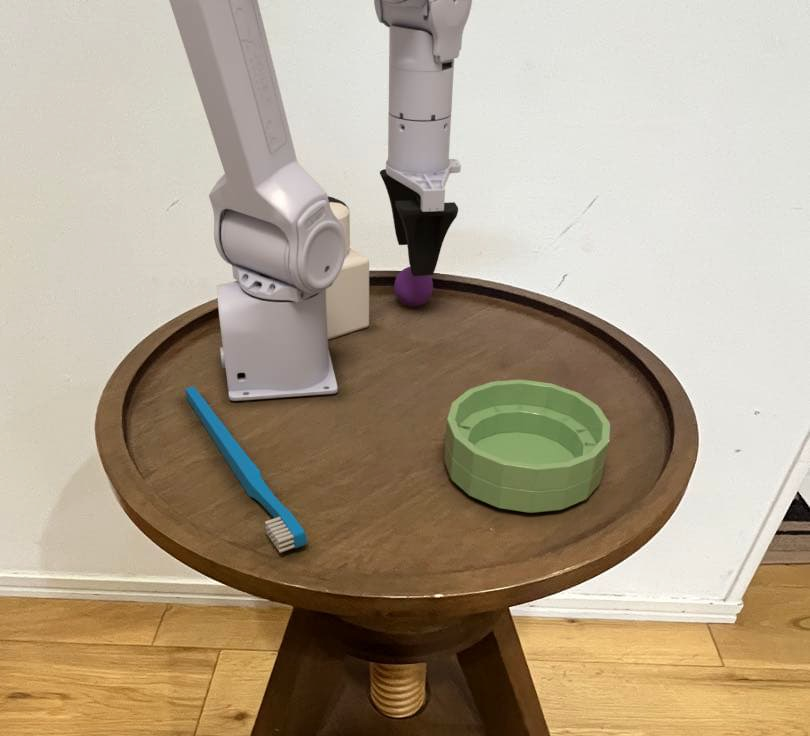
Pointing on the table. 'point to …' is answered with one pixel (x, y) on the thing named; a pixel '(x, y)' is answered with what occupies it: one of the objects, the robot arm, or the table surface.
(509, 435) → the bowl
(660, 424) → the table surface
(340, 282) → the cylinder-topped cream block
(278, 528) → the toothbrush
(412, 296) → the ball
